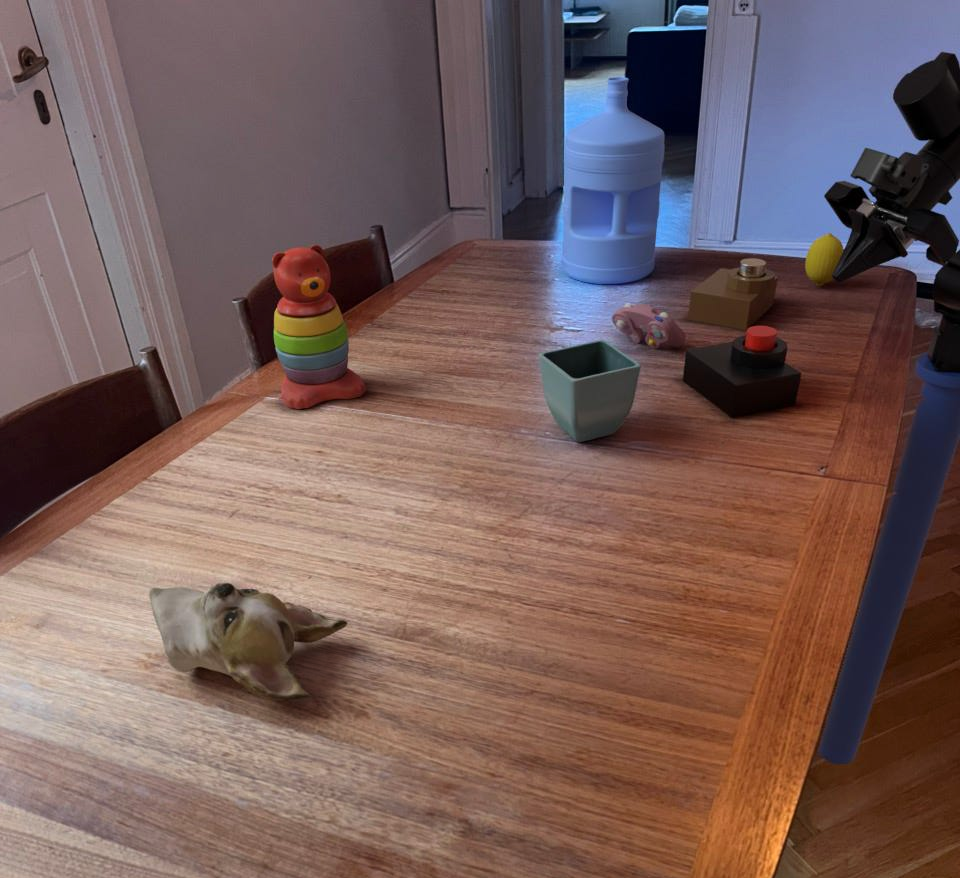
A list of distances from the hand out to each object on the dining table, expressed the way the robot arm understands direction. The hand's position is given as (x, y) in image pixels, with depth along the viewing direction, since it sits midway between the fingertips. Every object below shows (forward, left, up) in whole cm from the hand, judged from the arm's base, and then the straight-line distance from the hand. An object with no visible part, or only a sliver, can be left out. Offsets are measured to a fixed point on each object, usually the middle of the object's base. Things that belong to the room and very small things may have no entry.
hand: (835, 279), depth 111 cm
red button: (+8, +5, -7) cm, 12 cm away
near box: (+10, +6, -12) cm, 17 cm away
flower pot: (+28, +19, -13) cm, 36 cm away
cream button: (+8, -22, -7) cm, 25 cm away
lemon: (-4, -36, -13) cm, 39 cm away
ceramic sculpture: (+52, +66, -13) cm, 85 cm away
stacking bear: (+64, +11, -13) cm, 66 cm away
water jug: (+30, -41, -13) cm, 53 cm away
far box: (+10, -23, -12) cm, 28 cm away
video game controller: (+22, -9, -13) cm, 27 cm away
